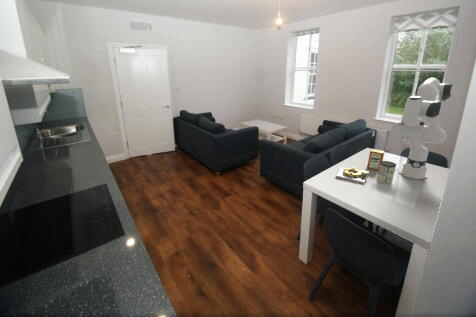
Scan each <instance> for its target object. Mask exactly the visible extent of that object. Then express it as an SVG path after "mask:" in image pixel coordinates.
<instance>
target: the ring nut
mask: <svg viewBox="0 0 476 317" xmlns="http://www.w3.org/2000/svg"><path fill="white" fill-rule="evenodd" d="M344 168H345V169H344V170H343V173H344V174H345V175H348V176H351V177H360V176H362V173H363V172H366V178H368V177H369V173H370V171H369V170H364V169H362V170H360V169H357V168H356V167H344ZM350 169H354V170H356V173H353V172H349V170H350Z"/></svg>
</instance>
